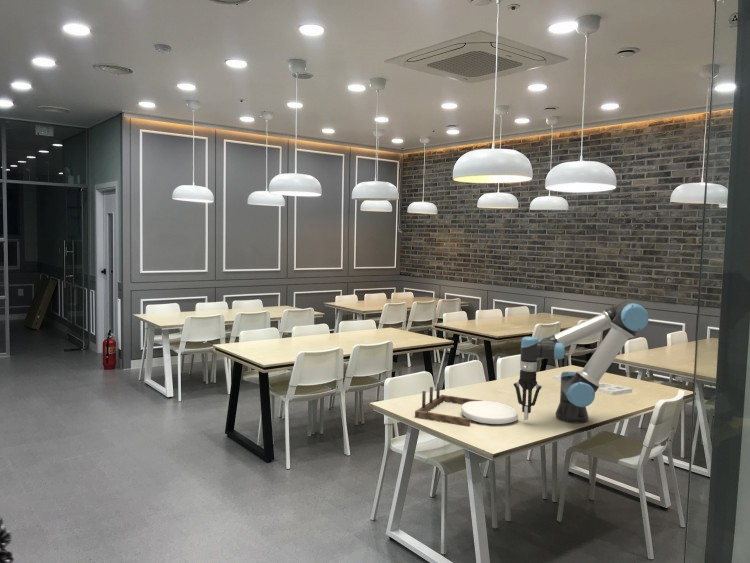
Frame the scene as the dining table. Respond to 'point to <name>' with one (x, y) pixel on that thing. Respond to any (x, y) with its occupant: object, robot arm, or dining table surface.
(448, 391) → the dining table surface
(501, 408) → the plate
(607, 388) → the holder
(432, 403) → the plate rack
